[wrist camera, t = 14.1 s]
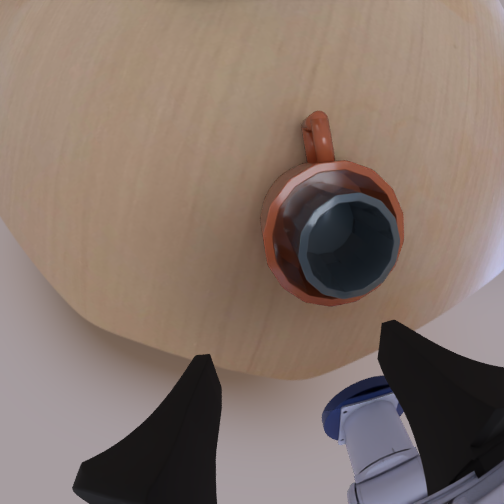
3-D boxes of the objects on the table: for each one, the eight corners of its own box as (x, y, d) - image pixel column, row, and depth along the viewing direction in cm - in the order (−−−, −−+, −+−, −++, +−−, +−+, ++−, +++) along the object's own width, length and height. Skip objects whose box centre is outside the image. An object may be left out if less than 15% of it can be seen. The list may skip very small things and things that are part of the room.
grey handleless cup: (358, 250, 19) (399, 287, 13) (287, 262, 20) (303, 307, 13) (352, 178, 18) (398, 187, 12) (276, 188, 18) (290, 201, 12)
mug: (373, 263, 20) (402, 290, 16) (270, 282, 21) (275, 316, 16) (358, 117, 17) (390, 105, 12) (244, 129, 17) (241, 117, 13)
